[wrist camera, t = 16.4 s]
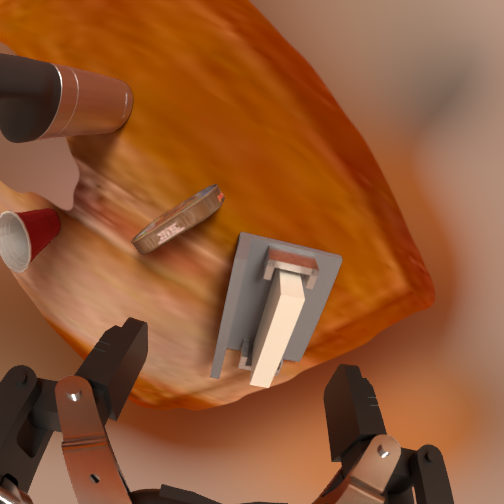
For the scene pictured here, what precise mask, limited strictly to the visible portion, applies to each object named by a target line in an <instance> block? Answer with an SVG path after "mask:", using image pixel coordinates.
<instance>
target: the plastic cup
mask: <svg viewBox="0 0 504 504" xmlns="http://www.w3.org/2000/svg"><path fill="white" fill-rule="evenodd" d="M59 231H60V219H59V217H58V215H57V213H56V212H55V211H54V210H53V209H50V208H49V209H48V208H46V209H41V210H33V211H27V212H22V213H20V212H19V213H16V212H15V213H14V212H12V211H5V212H3V213H2V214H1V215H0V254H1V257H2V259H3V261H4V262H5V263H6V265H7V266H8V267H9V268H10V269H11V270H13V271H14V272H16V273H22V272H24V271H25V270H26V269H27V268H28V267H29V264H30V262H31V261H32V260H33V259H34V258H35V256H36V255H37V254H38V253H39V252H40V251H41V250H42V249H44V248H45V247H46V246H47V245H48V244H49V243H50V242H51V240H52V239H53V238H54V237H56V236H57V234H58V233H59Z"/></svg>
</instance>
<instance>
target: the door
mask: <svg viewBox="0 0 504 504" xmlns="http://www.w3.org/2000/svg"><path fill="white" fill-rule="evenodd" d="M304 301H305V297H304V292H303V286H302V281H301V276H300V273H297V272H293V271H288V270H284V269H279V268H276V272H275V275H274V279H273V282H272V285H271V289H270V292H269V295H268V298H267V302H266V305H265V308H264V312H263V315H262V318H261V321H260V324H259V328H258V331H257V334H256V337H255V340H254V344H253V355H252V365H251V376H250V385H255V386H260V387H266V388H269V386H270V384H271V382H272V379H273V377H274V375H275V372H276V370H279V369H280V365H281V358H282V356H283V354H284V351H285V349H286V346H287V344H288V342H289V339H290V337H291V334H292V332H293V329H294V327H295V324H296V322H297V319H298V317H299V314H300V311H301V309H302V306H303V304H304Z"/></svg>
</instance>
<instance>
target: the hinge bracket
mask: <svg viewBox="0 0 504 504" xmlns="http://www.w3.org/2000/svg"><path fill="white" fill-rule="evenodd" d="M342 260H343V259H342V257H341V255H337V254H333V253H329V252H325V251H321V250H317V249H312V248H308V247H304V246H300V245H296V244H292V243H287V242H283V241H279V240H275V239H271V238H266V237H262V236H258V235H253V234H249V233H245V232H241V233H240V236H239V241H238V245H237V250H236V254H235V259H234V264H233V268H232V273H231V278H230V282H229V287H228V292H227V296H226V301H225V306H224V311H223V316H222V320H221V325H220V330H219V335H218V340H217V345H216V350H215V355H214V360H213V365H212V370H211V375H210V377H212V378H216V379H219V377H220V373H221V369H222V365H223V360H224V356H225V352H226V348H229V349H233V350H238V351H240V358H239V365H238V368H240V369H245V370H250V371H251V365H252V355H253V344H254V340H255V337H256V334H257V331H258V328H259V324H260V321H261V318H262V315H263V312H264V308H265V305H266V302H267V298H268V295H269V292H270V289H271V285H272V282H273V279H274V275H275V272H276V268H279V269H284V270H288V271H293V272H297V273H300V276H301V281H302V286H303V292H304V297H305V301H304V304H303V306H302V309H301V311H300V314H299V317H298V319H297V322H296V324H295V327H294V329H293V332H292V334H291V337H290V339H289V342H288V344H287V346H286V349H285V351H284V354H283V356H282V358H281V365H280V369H281V367H282V365H283V359H285V360H291V361H298V362H300V360H301V358H302V356H303V354H304V352H305V349H306V347H307V345H308V343H309V341H310V338H311V336H312V334H313V332H314V329H315V327H316V325H317V322H318V320H319V318H320V315H321V313H322V311H323V308H324V306H325V303H326V301H327V299H328V296H329V294H330V291H331V289H332V286H333V283H334V281H335V278H336V276H337V273H338V270H339V268H340V265H341V262H342ZM280 369H279V370H276V372H275V375H278V374H279V372H280Z"/></svg>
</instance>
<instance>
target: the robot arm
mask: <svg viewBox="0 0 504 504" xmlns="http://www.w3.org/2000/svg"><path fill="white" fill-rule="evenodd" d="M132 106H133V95H132V92H131V90H130V88H129V86H128V85H127V84H126V83H125V82H123V81H121V80H118V79H115V78H111V77H108V76H104V75H101V74H97V73H93V72H89V71H85V70H81V69H77V68H73V67H68V66H63V65H58V64H53V63H48V62H42V61H38V60H34V59H30V58H26V57H21V56H14V55H7V54H1V53H0V130H1V132H2V134H3V135H4V137H5V138H6V139H7V140H9V141H11V142H14V143H23V142H29V141H35V140H42V139H49V138H57V137H67V136H78V135H93V134H108V133H112V132H114V131H116V130H118V129H119V128H121V127H122V126H123V125H124V124H125V122H126V121H127V119H128V118H129V116H130V113H131V110H132ZM147 352H148V325H147V322H144V321H140V320H137V319H134V318H131V317H129V318H128V319H127V321H126V322H125V323H124V325H123V326H122V327H119V326H116V325H115V326H113V327H112V328H110V329H108V330H107V331H105V333H104V334H103V335H102V337H101V338H100V339H99V342H97V344H96V345H95V346H94V349H92V351H91V352H90V353H89V355H88V356H87V358H86V359H85V361H84V362H83V364H82V365H81V366H80V368H79V369H78V371H77V372H76V374H75V375H73V376H66V377H64V378H62V379H61V380H60V381H51V380H46V379H41V378H37V377H36V374H35V373H34V371H33V370H32V369H31V368H29V367H27V366H24V365H19V366H15V367H13V368H11V369H10V370H9V371H8V372H7V374H6V375H5V377H4V378H3V379H2V381H1V382H0V504H33V501H32V500H31V498H30V497H29V495H28V494H27V493H28V490H29V487H30V485H31V482H32V480H33V477H34V475H35V472H36V470H37V467H38V465H39V463H40V460H41V458H42V456H43V453H44V451H45V449H46V447H47V445H48V442H49V440H50V438H51V436H52V434H53V432H54V431H58V432H62V434H63V442H62V451H63V455H64V459H65V463H66V466H67V470H68V473H69V477H70V480H71V483H72V486H73V489H74V492H75V495H76V498H77V500H78V503H79V504H221V503H218V502H216V501H213V500H211V499H208V498H206V497H204V496H201V495H199V494H196V493H194V492H191V491H187V490H183V489H179V488H175V487H171V486H167V485H164V484H162V485H161V489H142V490H137V491H133V492H131V491H130V489H129V487H128V485H127V483H126V480H125V478H124V476H123V474H122V472H121V470H120V467H119V465H118V463H117V460H116V457H115V455H114V452H113V449H112V447H111V444H110V441H109V438H108V435H107V432H106V429H105V424H106V422H107V420H108V418H110V419H112V420H115V421H117V419H118V417H119V415H120V413H121V410H122V408H123V406H124V404H125V402H126V400H127V398H128V396H129V394H130V391H131V389H132V387H133V385H134V383H135V381H136V379H137V377H138V375H139V373H140V371H141V369H142V367H143V365H144V363H145V360H146V357H147ZM324 405H325V412H326V419H327V427H328V435H329V443H330V451H331V460H332V462H341V463H342V467H341V468H340V469H339V470H338V472H337V473H336V475H335V476H334V477H333V479H332V480H331V481H330V483H329V484H328V485H327V487H326V488H325V489H324V490H323V492H322V493H321V494H320V495H319V497H318V498H317V499H316V500H315V501H314V502H313V503H312V504H414V498H413V492H412V487H414V489H415V494H416V501H417V504H454V501H453V496H452V492H451V487H450V483H449V479H448V475H447V471H446V467H445V464H444V460H443V456H442V454H441V452H440V450H439V449H438V448H437V447H435V446H433V445H424V446H422V447H421V448H420V449H418V450H417V451H415V450H410V449H406V448H401V447H400V445H399V443H398V442H397V441H396V440H395V439H394V438H393V437H391V436H389V435H387V433H386V429H385V426H384V422H383V419H382V415H381V412H380V409H379V406H378V402H377V399H376V395H375V392H374V389H373V387H372V385H371V384H370V383H369V381H368V380H367V379H366V378H362V376H361V372H360V369H359V367H358V366H357V365H347V364H340V365H339V366H338V368H337V369H336V371H335V373H334V374H333V376H332V378H331V379H330V381H329V383H328V384H327V386H326V388H325V391H324ZM242 504H288V503H268V502H253V503H242Z"/></svg>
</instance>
